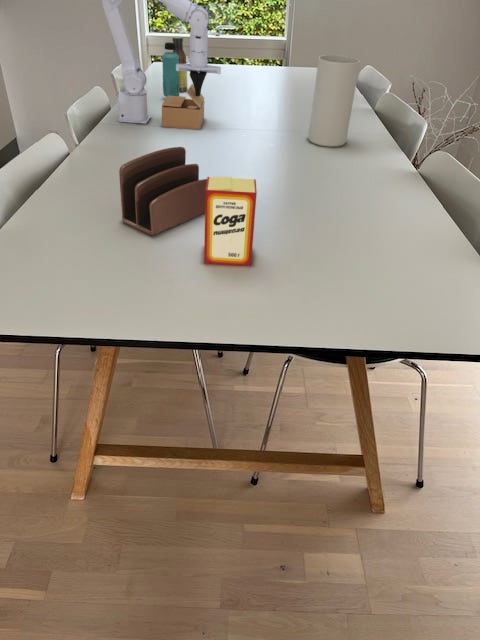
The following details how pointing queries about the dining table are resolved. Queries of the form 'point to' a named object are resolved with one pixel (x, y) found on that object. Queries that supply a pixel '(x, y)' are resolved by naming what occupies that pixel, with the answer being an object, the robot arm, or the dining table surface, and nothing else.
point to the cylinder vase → (333, 99)
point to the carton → (181, 113)
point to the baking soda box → (229, 220)
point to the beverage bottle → (170, 71)
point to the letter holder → (161, 191)
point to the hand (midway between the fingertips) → (198, 95)
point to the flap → (196, 99)
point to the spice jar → (192, 107)
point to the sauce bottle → (181, 62)
